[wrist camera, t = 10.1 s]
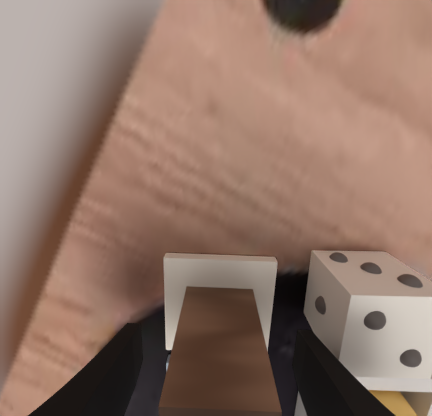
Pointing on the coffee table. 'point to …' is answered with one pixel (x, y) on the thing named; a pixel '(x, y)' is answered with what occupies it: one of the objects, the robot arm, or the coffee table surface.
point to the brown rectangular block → (219, 358)
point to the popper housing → (409, 387)
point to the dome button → (394, 402)
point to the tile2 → (217, 283)
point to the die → (371, 313)
